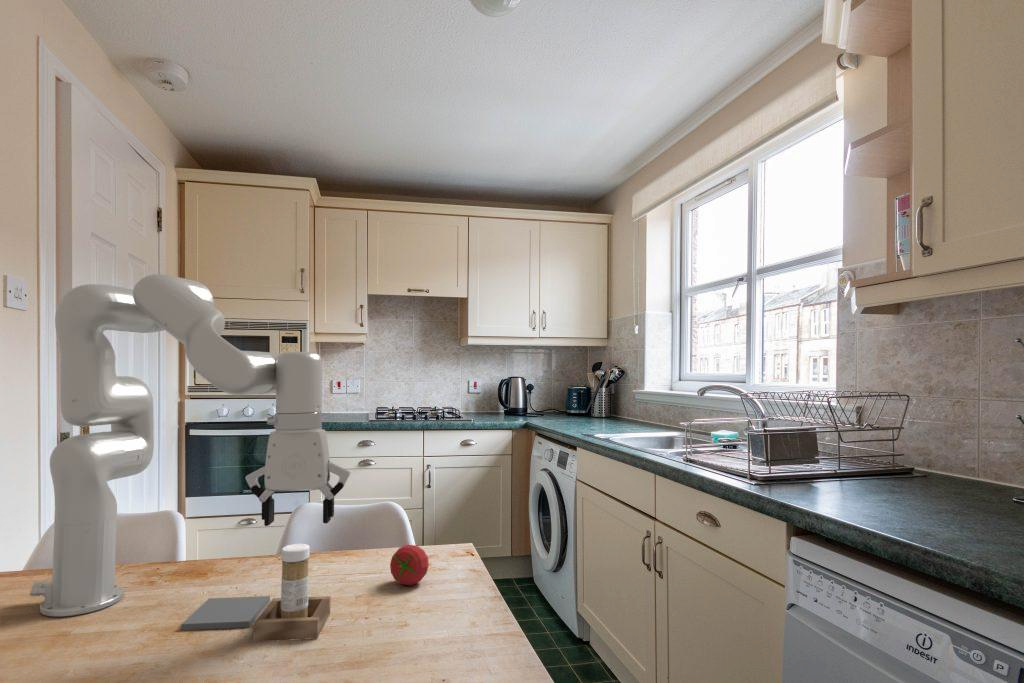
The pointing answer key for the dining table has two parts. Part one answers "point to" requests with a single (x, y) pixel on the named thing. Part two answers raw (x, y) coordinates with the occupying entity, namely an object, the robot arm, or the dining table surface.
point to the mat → (226, 613)
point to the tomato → (409, 565)
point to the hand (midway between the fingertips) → (298, 522)
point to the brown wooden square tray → (292, 621)
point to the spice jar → (295, 581)
